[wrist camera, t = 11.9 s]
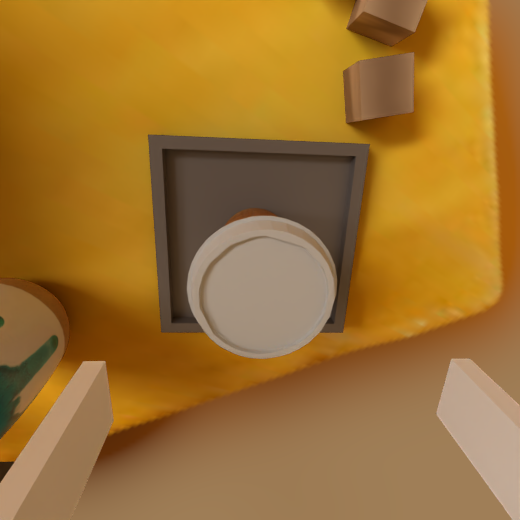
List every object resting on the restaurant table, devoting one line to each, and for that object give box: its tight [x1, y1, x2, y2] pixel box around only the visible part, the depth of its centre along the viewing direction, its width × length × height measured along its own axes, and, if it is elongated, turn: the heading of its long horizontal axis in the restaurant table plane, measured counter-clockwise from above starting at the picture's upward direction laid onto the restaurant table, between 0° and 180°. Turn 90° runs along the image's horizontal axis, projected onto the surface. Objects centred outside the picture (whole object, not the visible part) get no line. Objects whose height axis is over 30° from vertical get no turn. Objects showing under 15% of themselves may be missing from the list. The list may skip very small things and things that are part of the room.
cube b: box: [346, 0, 427, 46], centre depth 25 cm, size 4×4×4 cm
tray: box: [148, 135, 370, 333], centre depth 31 cm, size 18×18×2 cm
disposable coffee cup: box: [187, 208, 337, 359], centre depth 26 cm, size 10×10×12 cm
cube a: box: [343, 52, 414, 123], centre depth 27 cm, size 4×4×4 cm
